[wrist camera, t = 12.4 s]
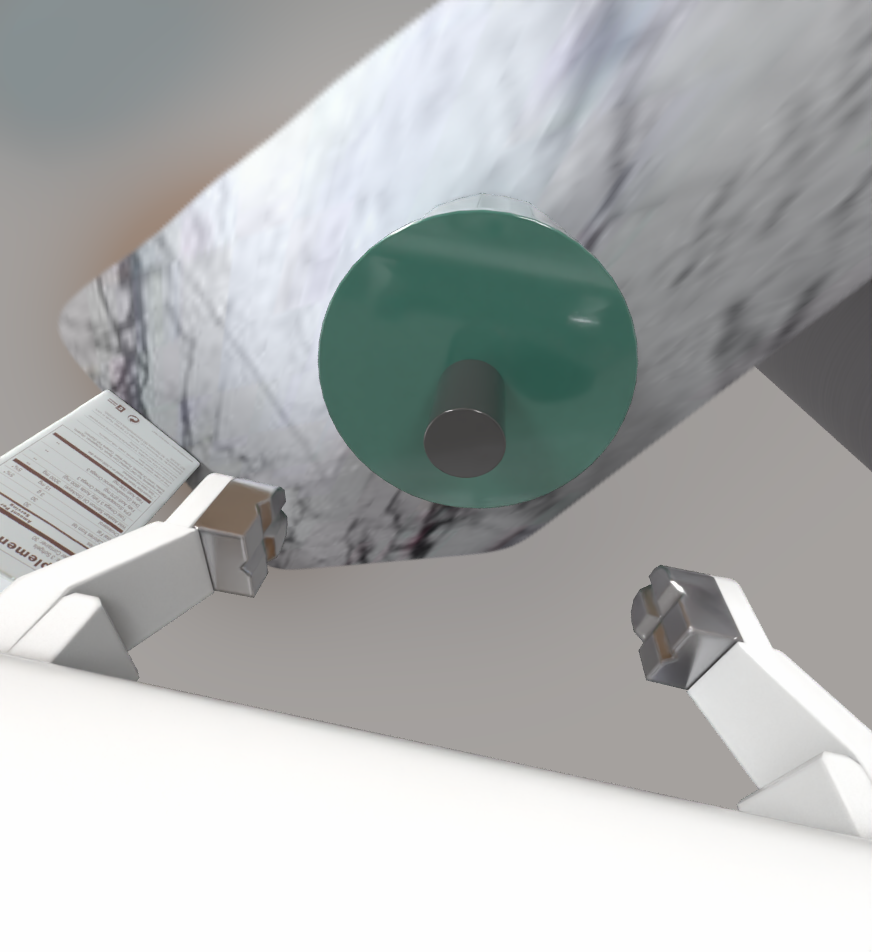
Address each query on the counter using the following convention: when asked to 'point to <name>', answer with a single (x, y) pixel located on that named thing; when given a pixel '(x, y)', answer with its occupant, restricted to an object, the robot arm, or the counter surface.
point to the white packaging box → (84, 484)
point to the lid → (478, 358)
